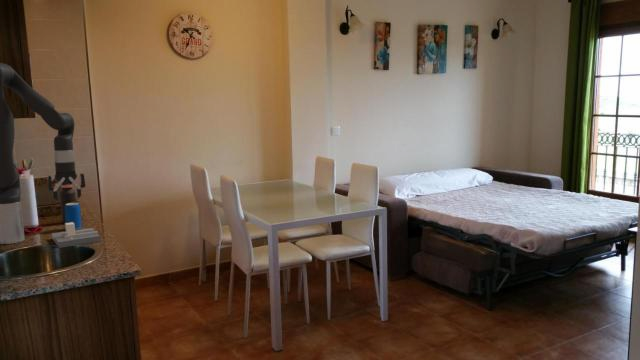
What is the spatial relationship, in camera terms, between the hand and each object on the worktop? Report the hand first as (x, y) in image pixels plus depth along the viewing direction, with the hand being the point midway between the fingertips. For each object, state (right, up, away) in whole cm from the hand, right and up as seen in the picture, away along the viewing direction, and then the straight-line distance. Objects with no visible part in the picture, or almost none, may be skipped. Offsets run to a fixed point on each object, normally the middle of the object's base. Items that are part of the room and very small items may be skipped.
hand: (67, 198), depth 220 cm
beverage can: (-9, -15, +25) cm, 31 cm away
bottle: (-18, -13, +38) cm, 44 cm away
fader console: (+1, -18, +4) cm, 19 cm away
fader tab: (0, -16, +2) cm, 16 cm away
